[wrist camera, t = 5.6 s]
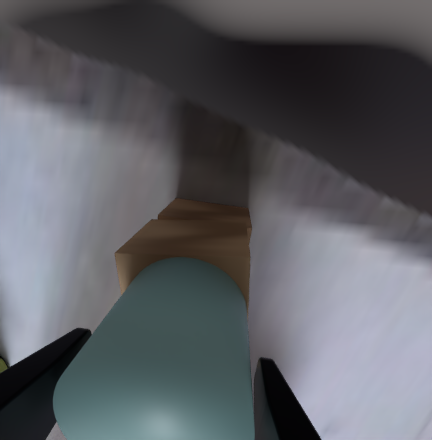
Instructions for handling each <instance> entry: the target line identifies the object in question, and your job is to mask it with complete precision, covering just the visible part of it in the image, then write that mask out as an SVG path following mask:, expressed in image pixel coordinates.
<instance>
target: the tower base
mask: <svg viewBox="0 0 432 440" xmlns="http://www.w3.org/2000/svg"><path fill="white" fill-rule="evenodd" d="M158 220H224V221H246V226H247V234H248V242H250V236H251V231H252V226H251V220H250V215H249V209H248V208H243V207H236V206H229V205H222V204H215V203H208V202H201V201H193V200H186V199H179V198H176V199H175V200H173V201H172V202H171V203H170V204H169V205H168V206H167V207H166V208H165V209H164V210H163V211H162V212H160V213H159V214H158Z"/></svg>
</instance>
